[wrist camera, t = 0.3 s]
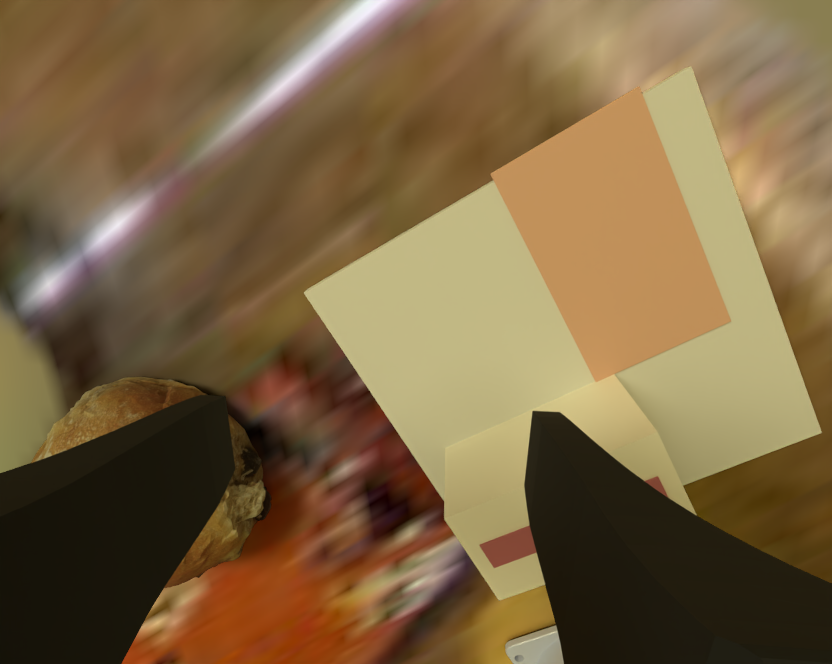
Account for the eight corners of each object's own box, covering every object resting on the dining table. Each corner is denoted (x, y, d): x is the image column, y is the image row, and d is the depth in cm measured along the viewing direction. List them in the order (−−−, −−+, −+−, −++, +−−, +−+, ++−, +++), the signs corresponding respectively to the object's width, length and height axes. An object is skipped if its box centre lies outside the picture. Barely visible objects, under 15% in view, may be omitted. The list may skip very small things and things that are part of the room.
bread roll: (191, 324, 25) (10, 340, 18) (322, 458, 22) (171, 542, 15) (129, 454, 28) (-45, 512, 21) (237, 586, 25) (78, 706, 18)
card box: (652, 454, 21) (704, 530, 17) (490, 518, 23) (499, 602, 19) (613, 373, 20) (658, 433, 16) (445, 448, 22) (444, 520, 17)
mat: (811, 425, 21) (823, 434, 20) (483, 551, 24) (484, 562, 24) (679, 60, 16) (689, 56, 16) (303, 282, 20) (298, 287, 19)
